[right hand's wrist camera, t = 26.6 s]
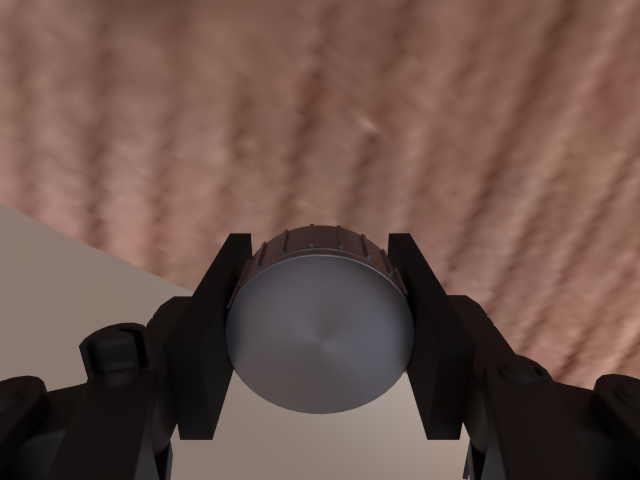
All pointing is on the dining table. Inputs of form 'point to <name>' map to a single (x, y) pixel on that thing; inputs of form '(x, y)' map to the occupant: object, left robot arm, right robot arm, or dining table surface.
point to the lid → (319, 321)
